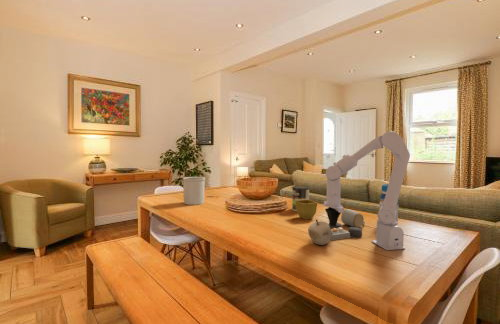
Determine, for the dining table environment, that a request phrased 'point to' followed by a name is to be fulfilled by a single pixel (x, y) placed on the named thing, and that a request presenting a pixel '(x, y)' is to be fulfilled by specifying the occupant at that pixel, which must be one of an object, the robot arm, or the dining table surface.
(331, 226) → the cord coil
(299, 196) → the coffee can
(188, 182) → the utensil holder
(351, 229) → the cord coil
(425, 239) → the dining table surface
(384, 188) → the beverage bottle
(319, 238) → the decorative object
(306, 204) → the flower pot
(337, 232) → the grey egg carton
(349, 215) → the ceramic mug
